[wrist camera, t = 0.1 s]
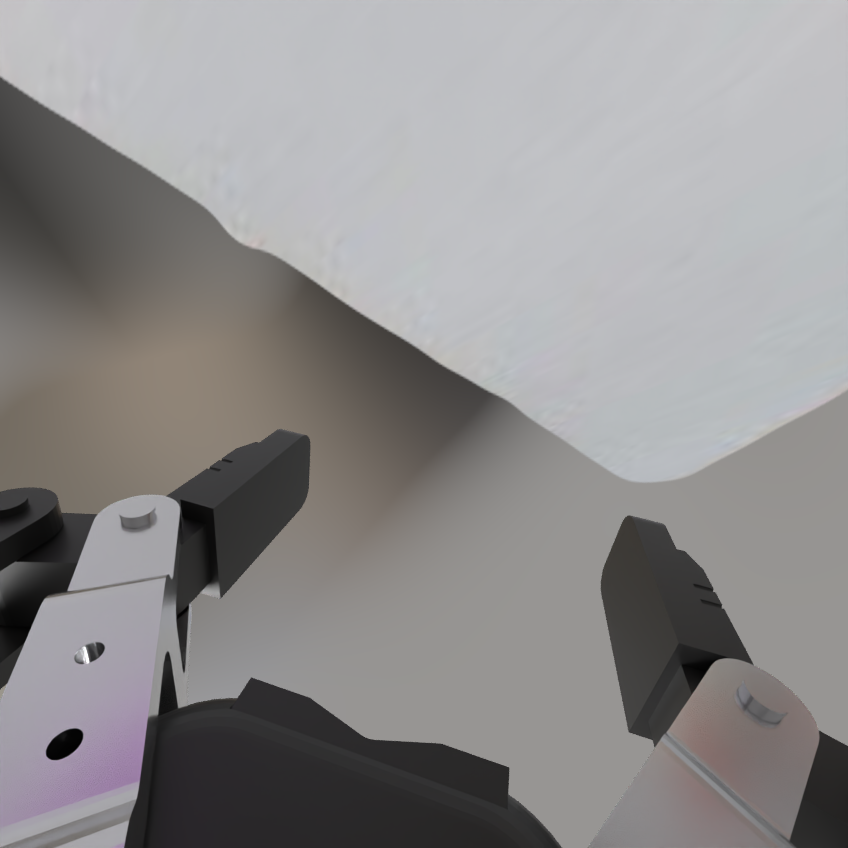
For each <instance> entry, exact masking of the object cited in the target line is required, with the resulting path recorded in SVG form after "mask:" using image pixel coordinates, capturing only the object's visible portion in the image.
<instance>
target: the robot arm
mask: <svg viewBox="0 0 848 848" xmlns="http://www.w3.org/2000/svg"><path fill="white" fill-rule="evenodd" d="M309 467H310V439H309V437H308V436H307V435H303V434H299V433H295V432H291V431H287V430H283V429H279V430H276V431H275V432H274V433H272V434H271V435H269V436H268V437H267V438H265V439H264V440H262V441H261V442H260V443H258V442H255V443H252V444H249V445H246V446H243V447H240V448H237V449H235V450H234V451H232V452H231V453H229V454H228V455H226V456H225V457H223V458H222V460H221V461H220V460H219V461H217V462H216V463H215V464H213V465H212V466H210V469H206V470H204V471H203V472H201V473H200V474H198V475H197V476H195V477H194V478H192V479H191V480H189V481H188V482H187V483H185V484H183V485H182V486H181V487H179V488H178V489H176V490H175V491H173V492H172V493H170V494H169V495H167V496H162V495H140V496H134V497H130V498H127V499H123V500H120V501H118V502H115V503H114V504H111V505H109V506H108V507H106V508H105V509H103V510H102V511H101V512H100V513H99V514H74V513H61V509H60V505H59V501H58V498H57V496H56V494H55V493H54V492H52V491H50V490H47V489H42V488H18V489H11V490H6V491H2V492H0V689H1V688H2V687H3V686H5V685H6V684H7V686H6V688H5V691H4V693H3V695H2V698H1V700H0V848H561V846H560V845H559V843H558V842H557V841H556V840H555V838H554V837H553V836H552V834H551V833H550V832H549V831H548V830H547V829H546V828H545V826H543V824H542V823H541V822H540V821H539V820H538V819H537V818H536V817H535V816H534V815H533V814H532V813H531V812H530V811H528V810H527V809H526V808H525V807H524V806H523V805H522V804H521V803H519V802H518V801H516V800H515V799H514V798H512V797H511V796H510V795H508V785H509V783H508V782H509V767H506V766H503V765H500V764H498V763H495V762H492V761H489V760H486V759H483V758H480V757H477V756H475V755H472V754H469V753H466V752H463V751H460V750H457V749H454V748H452V747H449V746H446V745H443V744H436V743H418V742H401V741H383V740H371V739H368V738H365V737H363V736H362V735H360V734H359V733H357V732H356V731H355V730H353V729H352V728H350V727H349V726H348V725H346V724H345V723H344V722H342V721H341V720H340V719H338V718H337V717H335V716H334V715H333V714H331V713H330V712H329V711H327V710H326V709H324V708H323V707H322V706H320V705H319V704H317V703H316V702H315V701H313V700H312V699H311V698H308V697H305V696H303V695H300V694H297V693H294V692H291V691H288V690H285V689H283V688H279V687H277V686H274V685H271V684H268V683H265V682H263V681H260V680H257V679H253V678H251V679H250V680H249V682H248V683H247V685H246V686H245V688H244V689H243V691H242V692H241V694H240V695H239V697H238V698H226V699H214V700H208V701H203V702H198V703H194V704H191V705H188V671H189V653H190V634H191V633H190V632H191V617H192V609H191V602H192V601H193V600H194V599H195V597H197V595H198V594H199V593H203V594H206V595H209V596H212V597H215V598H219V599H221V598H222V597H223V595H224V594H225V593H226V592H227V591H228V590H229V589H230V588H231V586H232V585H233V584H234V583H235V582H236V581H237V580H238V579H239V577H240V576H241V575H242V574H243V573H244V572H245V571H246V570H247V568H248V567H249V566H250V565H251V564H252V563H253V562H254V561H255V559H256V558H257V557H258V556H259V555H260V554H261V553H262V552H263V550H264V549H265V548H266V547H267V546H268V545H269V544H270V543H271V541H272V540H273V539H274V538H275V537H276V536H277V535H278V534H279V532H280V531H281V530H282V529H283V528H284V527H285V526H286V525H287V523H288V522H289V521H290V520H291V519H292V518H293V517H294V516H295V514H296V513H297V512H298V511H299V510H300V509H301V507H302V505H303V504H304V502H305V500H306V497H307V493H308V489H309ZM601 594H602V599H603V604H604V609H605V614H606V620H607V625H608V630H609V635H610V640H611V644H612V650H613V655H614V660H615V665H616V670H617V675H618V680H619V685H620V690H621V695H622V701H623V705H624V711H625V715H626V720H627V726H628V730H629V732H630V733H633V734H636V735H639V736H642V737H645V738H648V739H651V740H653V743H654V747H655V748H654V750H653V752H652V753H651V754H650V756H649V757H648V759H647V760H646V762H645V763H644V765H643V766H642V768H641V769H640V771H639V772H638V774H637V775H636V777H635V778H634V780H633V781H632V783H631V784H630V786H629V787H628V789H627V790H626V791H625V793H624V794H623V796H622V797H621V799H620V801H619V802H618V803H617V805H616V806H615V808H614V809H613V811H612V812H611V814H610V815H609V817H608V818H607V820H606V821H605V823H604V824H603V826H602V827H601V829H600V830H599V832H598V833H597V835H596V836H595V838H594V839H593V841H592V842H591V843H590V845H589V847H588V848H848V746H847V745H845V744H843V743H841V742H839V741H837V740H835V739H833V738H832V737H830V736H828V735H826V734H824V733H822V732H821V731H819V730H818V727H817V724H816V722H815V720H814V718H813V716H812V714H811V713H810V711H809V710H808V709H807V707H806V706H805V705H804V704H803V703H802V701H801V700H800V699H799V698H798V697H797V696H796V695H795V694H794V693H793V692H792V691H791V690H790V689H789V688H788V687H787V686H785V685H784V684H783V683H782V682H780V681H779V680H778V679H776V678H775V677H774V676H772V675H770V674H769V673H767V672H766V671H764V670H762V669H760V668H758V667H757V666H754V665H753V663H752V661H751V659H750V657H749V655H748V653H747V651H746V649H745V648H744V646H743V644H742V642H741V640H740V638H739V636H738V634H737V632H736V631H735V629H734V627H733V625H732V623H731V621H730V619H729V617H728V616H727V614H726V612H725V610H724V609H722V604H721V602H720V600H719V598H718V596H717V595H716V593H715V592H713V587H712V585H711V584H710V582H709V579H708V578H707V576H706V574H705V572H704V570H703V569H702V568H701V567H700V566H699V565H698V564H697V563H696V562H695V561H694V560H693V559H692V558H691V557H690V556H689V555H688V554H687V553H686V552H685V551H681V550H677V549H676V547H675V545H674V543H673V541H672V539H671V537H670V535H669V533H668V531H667V528H666V526H665V525H664V524H662V523H658V522H654V521H650V520H646V519H642V518H638V517H633V516H627V517H625V519H624V520H623V522H622V524H621V527H620V529H619V531H618V534H617V537H616V539H615V541H614V543H613V546H612V548H611V551H610V553H609V556H608V558H607V560H606V563H605V565H604V569H603V572H602V579H601Z"/></svg>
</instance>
